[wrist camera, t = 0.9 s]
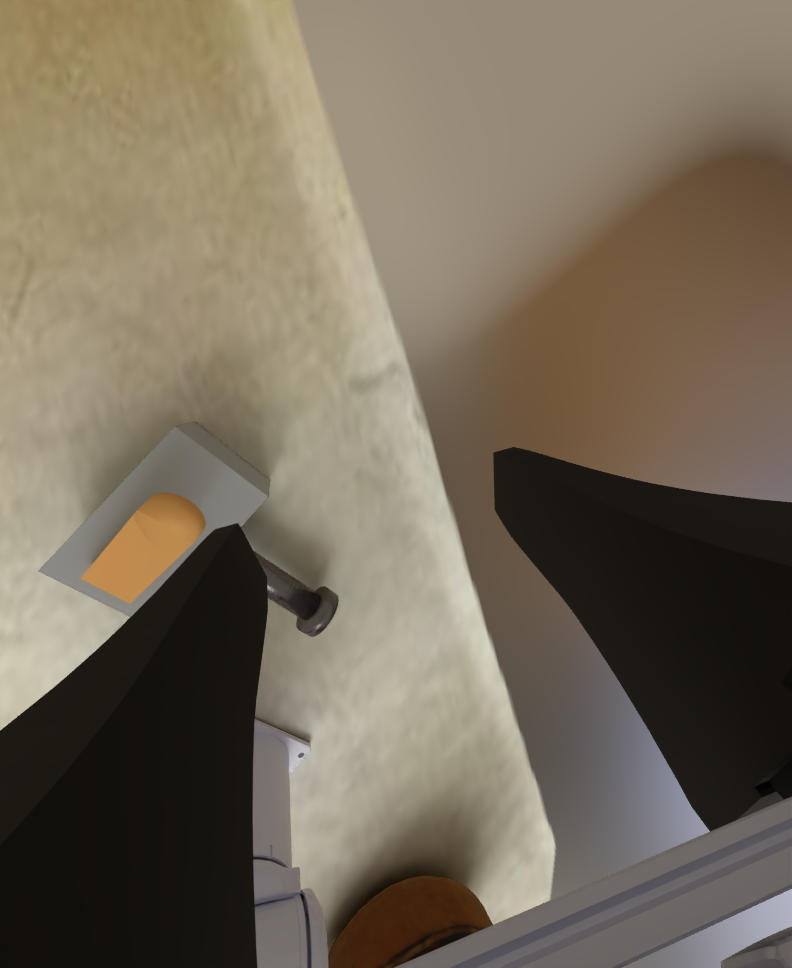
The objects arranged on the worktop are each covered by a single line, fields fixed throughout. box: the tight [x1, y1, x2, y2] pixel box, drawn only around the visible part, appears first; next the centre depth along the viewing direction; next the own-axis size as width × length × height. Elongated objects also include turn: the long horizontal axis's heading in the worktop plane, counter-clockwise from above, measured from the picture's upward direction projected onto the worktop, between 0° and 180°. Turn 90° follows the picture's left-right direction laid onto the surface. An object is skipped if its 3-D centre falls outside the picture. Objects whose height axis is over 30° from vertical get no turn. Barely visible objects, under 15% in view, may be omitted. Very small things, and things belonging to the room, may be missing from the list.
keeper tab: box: [80, 493, 206, 604], centre depth 17 cm, size 8×3×1 cm
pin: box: [254, 552, 338, 637], centre depth 23 cm, size 11×3×3 cm, turn 45°
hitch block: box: [39, 422, 270, 617], centre depth 21 cm, size 10×6×5 cm, turn 135°
